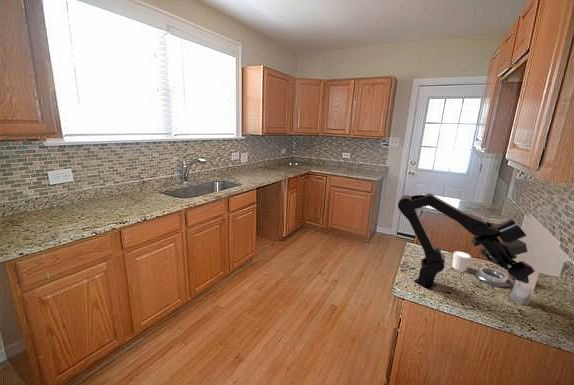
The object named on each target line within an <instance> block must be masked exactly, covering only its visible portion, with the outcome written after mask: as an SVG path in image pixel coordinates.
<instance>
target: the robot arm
mask: <svg viewBox="0 0 574 385" xmlns="http://www.w3.org/2000/svg"><path fill="white" fill-rule="evenodd" d="M428 206H429V207H431V208H432V209H435V210H436V211H438V212H439V213H441V214H443V215H445V216H447V217H449V218H451V219H452V220H453V221H455V222H457V223H458V224H460V225H461V226H462V228H464V229H465V230H467V232H469V233H470V234H471V235H473V236H472V238H471V240H470V241H471V244H473V246H474V247H478V246H480V245H481V247H482V249H481V250H480V254H481V255H482V256H483V257H484V258H486V259H487V260H488V261H489V262H491V263H493V264H494V265H497V266H499V267H500V268H502V269H504V270H506V271H507V274H508V275H509V274H510V276H512V277H513V278H514V279H516V280H517V281H521V282H523V283H526V284H527V283H529V279H528V276H529V275H530V274H532V273H534V270H535V269H534V268H533V267H532V266H531V265H530V264H528V263H527V262H525V261H523V260H522V261H520V260H519V261H518V262H517V261H516V260H515V259H517V258H518V257H517V255H521V254H525V253H526V254H527V253H528V251H529V250H528V247H527V244H526V243H525V241H522V240H520V239H522V238H525V237H527V234H526V233H525V232H524V230H523V229H522V228H521V227H520V226H519V225H518V224H517V223H516V222H515V220H513V219H512V218H510V219H509V220H507V221H505V222H503V223H500V224H499V225H496V224H493V223H491V222H487V221H485V220H484V219H483V218H482V217H480V216H478V215H475V214H472V213H468V212H465V211H462V210H460V209H459V208H457V207H455V206H453V205H451V204H449V202H446V201H444V200H442V199H441V198H439V197H436V196H435V195H434V194H433V193H426V194H425V193H424V194H418V195H417V194H416V195H408V194H407V195H402V196H401V197H400V198H399V200H398V204H397V208H398V210H399V212H401V214H402V215H403V216H404V217H405V218H406V219H407V220H408V222H409V224H410V226H411V228H412V230H413V231H414V234H415V236H416V238H417V240H418V241H419V244H420V245H421V248H422V250H423V252H424V256H425V257H424V258H421V259H420V263H421V265H420V269H419V273H418V278H416V279H414V282H415V283H416V284H418V285H420V286H422V287H424V288H425V289H426V290H430V289H432V288H434V287H436V286H438V283H436V282H435V280H436V279H435V278H436V276H437V274H438V273H441V272H442V271H443V270H444V269H445V263H446V260H445V259H446V258H445V255H444V254H443V252H442V249H441V247H438V248H436V246H434V244H433V243H432V241H431V239H430V236H429V234H428V233H427V230H426V228H425V226H424V225H423V222H422V221H421V218H420V216H419V213H418V209H420V208H424V207H428ZM499 238H500V239H501V240H500V239H499ZM510 276H509V277H510ZM514 279H513V280H514Z"/></svg>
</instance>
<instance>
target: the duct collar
mask: <svg viewBox="0 0 574 385" xmlns="http://www.w3.org/2000/svg"><path fill="white" fill-rule="evenodd" d="M474 275H475V277H476V279H478V280H479V281H481V282H482V283H484V284H487V285H490V286H493V287H497V288H504V289H505V288H509V287H510V285H511V281H510V280H509V277H508V275H507V274H506V273H504V272H503V271H501V270H498V269H496V268H492V267H487V266H486V267H485V266H482V267H480V268H479V269H477V270H476V271H475V273H474Z"/></svg>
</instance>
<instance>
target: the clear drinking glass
mask: <svg viewBox="0 0 574 385" xmlns="http://www.w3.org/2000/svg"><path fill="white" fill-rule="evenodd" d="M539 275H540V272H539V271H538V270H536V269H534V273H532V274H530V275H529V276H528V279H529V283H527V284H526V283H523V282H521V281H517V280H516V279H515V280H514V284H513V287H512V289H511V292H510V297H509V298H510V299H511V301H513V302H515V303H516V304H520V305H524V306H529V305H530V303H531V299H532V296H533V294H534V290H535V287H536V284H537V281H538V278H539Z"/></svg>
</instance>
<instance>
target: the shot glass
mask: <svg viewBox="0 0 574 385" xmlns="http://www.w3.org/2000/svg"><path fill="white" fill-rule="evenodd" d="M471 258H472V255H471V254H469V253H467V252H465V251H464V252H463V251H460V250H459V251H457V250H455V251H453V256H452V264H451V266H452V268H453V269H455V270H457V271H460V272H466V271H467V270H468V267H469V264H470V262H471V260H472V259H471Z"/></svg>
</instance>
